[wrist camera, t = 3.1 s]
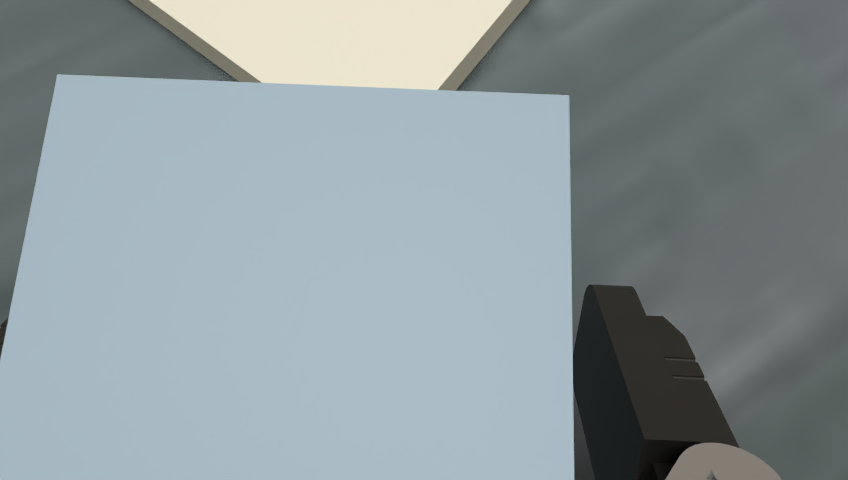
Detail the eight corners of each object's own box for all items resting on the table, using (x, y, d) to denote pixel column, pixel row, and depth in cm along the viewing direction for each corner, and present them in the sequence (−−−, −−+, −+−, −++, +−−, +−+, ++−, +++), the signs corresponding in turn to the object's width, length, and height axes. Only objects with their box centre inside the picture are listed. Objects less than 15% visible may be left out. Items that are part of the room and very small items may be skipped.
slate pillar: (271, 487, 17) (-59, 647, 5) (289, 292, 18) (57, 74, 7) (469, 496, 17) (577, 676, 5) (474, 300, 18) (568, 95, 6)
